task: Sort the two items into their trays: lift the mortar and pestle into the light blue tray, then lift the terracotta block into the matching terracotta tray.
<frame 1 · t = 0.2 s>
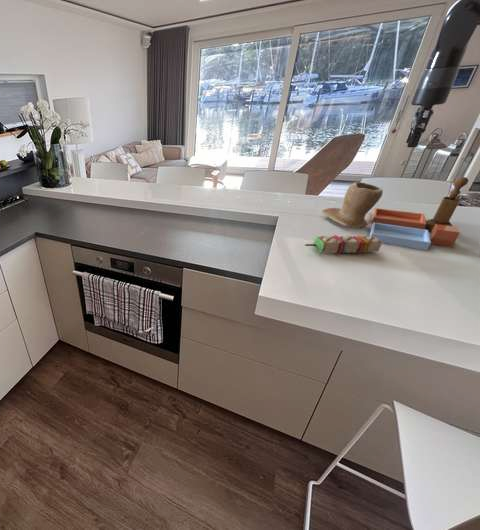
hand: (410, 145, 92), 28 cm above the countertop, tool pointing down, fingers open, 8 cm apart
skewer: (337, 251, 92), on the countertop
terracotta block: (439, 242, 92), on the countertop
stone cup: (346, 222, 110), on the countertop
light blue tray: (396, 238, 96), on the countertop
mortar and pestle: (435, 229, 100), on the countertop
terracotta tray: (396, 222, 107), on the countertop
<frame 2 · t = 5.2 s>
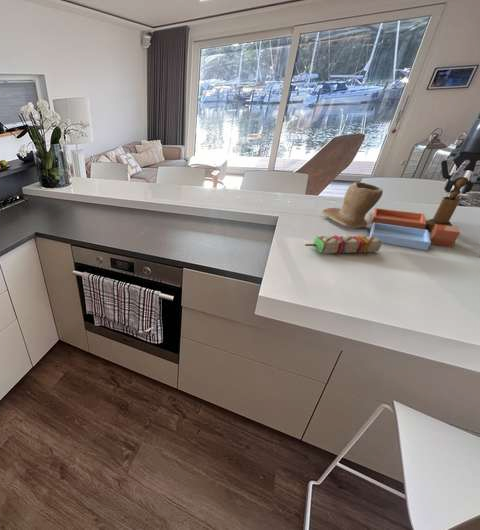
hand: (455, 192, 94), 13 cm above the countertop, tool pointing down, fingers closed on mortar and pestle, 3 cm apart
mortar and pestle: (435, 229, 100), on the countertop, touching gripper
everything else where it was.
when the fingers open (14 cm above the countertop, at t = 12.1 s): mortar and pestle stays where it is, resting on light blue tray.
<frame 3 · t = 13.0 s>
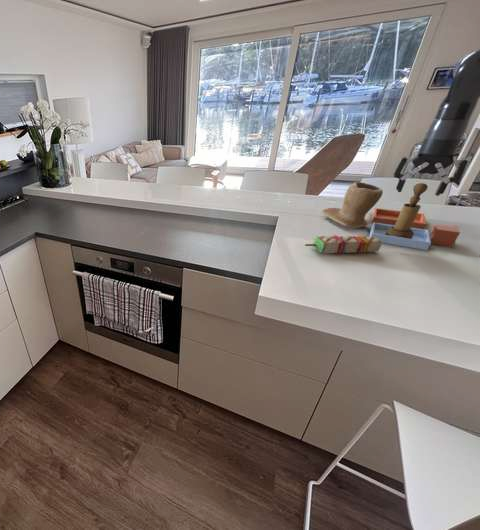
hand: (417, 193, 88), 16 cm above the countertop, tool pointing down, fingers open, 8 cm apart
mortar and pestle: (397, 237, 96), resting on light blue tray
everything else where it was.
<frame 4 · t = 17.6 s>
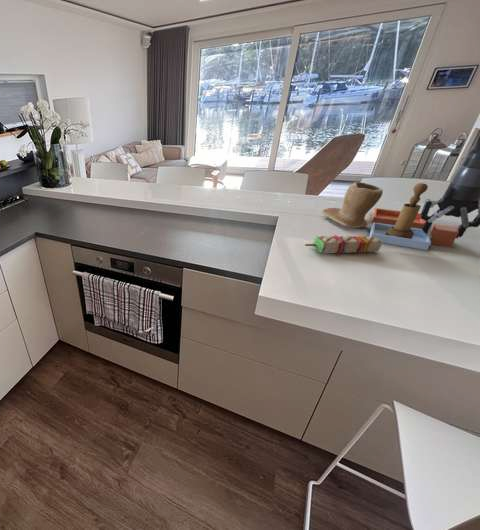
hand: (440, 234, 91), 3 cm above the countertop, tool pointing down, fingers open, 6 cm apart
terracotta block: (438, 242, 92), on the countertop, touching gripper
everything else where it was.
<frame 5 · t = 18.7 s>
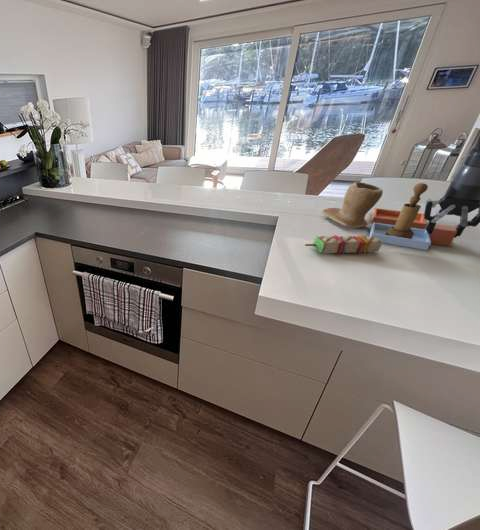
hand: (441, 234, 91), 3 cm above the countertop, tool pointing down, fingers closed on terracotta block, 5 cm apart
terracotta block: (437, 241, 93), on the countertop, touching gripper
everything else where it was.
when the fingers open (3 cm above the countertop, at t = 25.1 s): terracotta block stays where it is, resting on terracotta tray.
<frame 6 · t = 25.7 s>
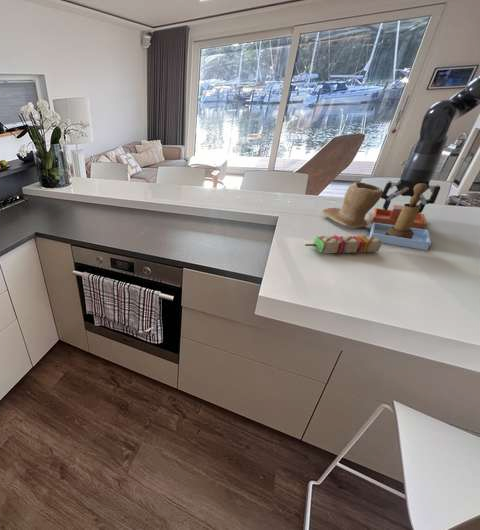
hand: (400, 211, 105), 4 cm above the countertop, tool pointing down, fingers open, 8 cm apart
terracotta block: (397, 220, 107), point 1 cm above the countertop, touching terracotta tray
everything else where it was.
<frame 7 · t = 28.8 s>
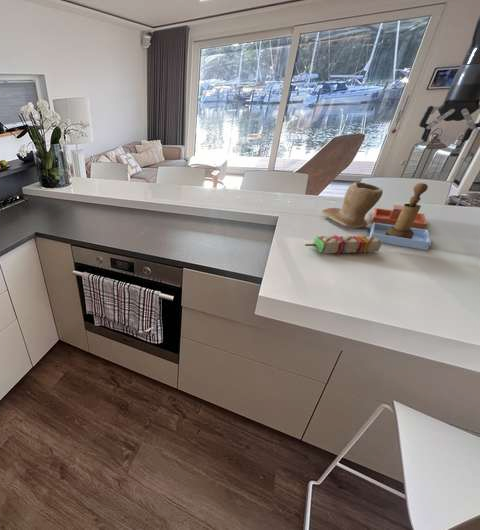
hand: (442, 141, 92), 28 cm above the countertop, tool pointing down, fingers open, 8 cm apart
nothing on the countertop moved.
at the end: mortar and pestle inside the target area in the light blue tray (0.1 cm from its centre), point 0.4 cm above the light blue tray's base; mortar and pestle tilted 0°; terracotta block inside the target area in the terracotta tray (0.1 cm from its centre), point 0.6 cm above the terracotta tray's base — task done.
